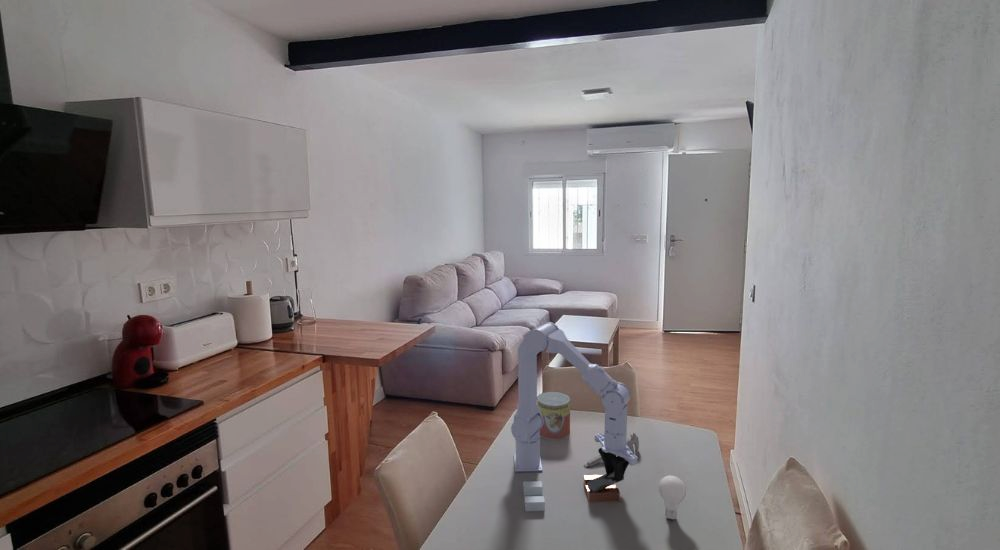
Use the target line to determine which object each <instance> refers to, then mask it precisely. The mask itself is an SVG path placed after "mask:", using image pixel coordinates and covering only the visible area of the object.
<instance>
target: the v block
mask: <svg viewBox="0 0 1000 550" xmlns="http://www.w3.org/2000/svg"><path fill="white" fill-rule="evenodd" d="M602 475H603V474H591V475H590V474H584V475H583V485H584V489H585V492H586V496H587V499H588V502H591V503H593V502H620V498H621V497H620V495H621V493H620V492H621V491H620V490H619V487H617V485H616V483H615V484H613V485H611V486H608V487H606V488H604V489H601V490H599V491H597V492H594V493H592V492H590V490H589V488H588V485H587V483H588V481H590V480H593V479H595V478H598V477H600V476H602Z"/></svg>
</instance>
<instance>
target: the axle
mask: <svg viewBox="0 0 1000 550" xmlns="http://www.w3.org/2000/svg"><path fill="white" fill-rule="evenodd" d="M601 475H602V476H600V477H598V478H595V479H593V480H590V481H588V483H587V485H588V488H589V490H590V492H592V493H594V492H597V491H599V490H601V489H604V488H606V487H608V486H611V485H613V484H615V485H616V484H617V483H619V482H622V481H624V480H625V475H624V476H623V480H621V481H618V482H616V481H615V477H614V471H612V472H610V473H607V474H601Z"/></svg>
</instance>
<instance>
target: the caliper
mask: <svg viewBox="0 0 1000 550" xmlns="http://www.w3.org/2000/svg"><path fill="white" fill-rule="evenodd" d="M629 436H630V437H628V438H626V445H627V446H628V447H629V449H630V450H631V451H632V453H635V451H636V452H638V451H639V449H640V448H639V447H640V441H639V436H638V435H637V434H636V433H635V432H633V434H630V435H629ZM600 462H603V460H602V457H601V455H600V454H599V455H598V456H597V455H596V456H595V457H593V458H591V459H589V460H588V461H586V463H585V464H583V467H584V468H590V467H593V466H595V465H597V464H598V463H600Z"/></svg>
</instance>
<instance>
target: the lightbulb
mask: <svg viewBox="0 0 1000 550" xmlns="http://www.w3.org/2000/svg"><path fill="white" fill-rule="evenodd" d="M686 488H687V487H686V485H685V483H684V482H683V481H682V479H680V478H679V477H677V476H675V475H666V476H665V475H664V477H662V478H661V479H660V481H659V482H658V492H659V495H660V497H661V498H662V500H663V502H664V504H663V505H664V507H665V513H664V515H665V517H666V519H669V520H676V519H677V518H678V517H677V513H678V512H677V511H678V508H679V506H680V504H681V503H682V502H683V501H684V499H685V497H686V495H687V489H686Z"/></svg>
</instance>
